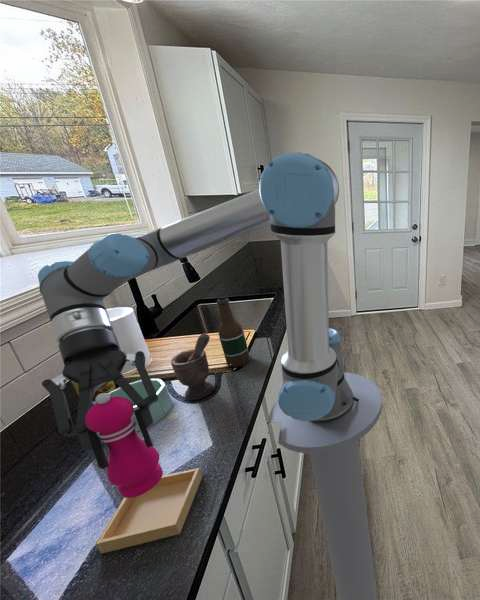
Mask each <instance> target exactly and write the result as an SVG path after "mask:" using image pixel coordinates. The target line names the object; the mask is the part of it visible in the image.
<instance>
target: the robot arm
mask: <svg viewBox="0 0 480 600" xmlns="http://www.w3.org/2000/svg"><path fill="white" fill-rule="evenodd" d="M339 183H340V182H339V180H338V177H337V175H336V174H335V172H334V170H333V169H332V167H330V165H328V164H327V163H326V162H324V161H323V160H321V159H319V158H317V157H315V156H313V155H311V154H309V153H302V152H300V151H299V152H288V153H282V154H280V155H278V156H276V157H274V158H273V159H271V161H269V162H268V163H267V164H266V166H265V168H264V169H263V171H262V173H261V175H260V179H259V185H258V186H259V188H258V189H255V190H252V191H250V192H248V193H244V194H243V195H240V196H238V197H234V198H233V199H229V200H227V201H225V202H223V203H220V204H217V205H215V206H212V207H209V208H207V209H204V210H202V211H200V212H197V213H195V214H192V215H189V216H187V217H184V218H182V219H179V220H177V221H174V222H172V223H169V224H167V225H165V226H161V227H159V228H156V229H154V230H151V231H148V232H146V233H143V234H140V235H136V236H130V235H128V234H122V233H119V232H113V233H112V232H111V233H109V234H106V235H105V236H103V237H102V238H101V239H99V240H96V241H95V242H94V243H93V244H92V245H91V246H90V247H89V248H88V249H87V250H86V251H84V252H83V253H82V254H81V255H80V256H79V257H77V258H76V259H75V260H59V261H54V263H53V264H46V265H44V266H43V267H42V268H40V270H39V271H38V273H37V279H38V283H39V285H38V286H39V288H38V289H39V294H40V295H41V296H42V300H43V303H44V306H45V308H46V312H47V314H48V317H49V320H50V323H51V325H52V326H51V327H52V330H53V334H54V337H55V340H56V342H57V344H58V350H59V353H60V355H61V358H62V362H63V368H62V373H61V374H60V375H58V376H55V377H54V378H52V379H49V378H47V379H44V380H42V382H41V386H42V387H43V389H45V390H46V391H47V392H48V393H49V397H50V400H51V404H52V410H53V413H54V418H55V422H56V425H57V429H58V433H59V434H60V435H62V436H64V437H67V438H69V437H72V436H78V439H79V442H80V445H81V448H82V450H83V451H84V452H85V453H88V454H89V453H91V452H93V454H94V457H95V461H96V464H97V466H98V467H97V468H98V469H102V470H105V469H107V467H109V465H108V459H107V456H106V454H105V450H104V447H103V444H102V443H103V442H100V441H99V437H97V432H94V431H91V430H90V429H89V428H88V427H87V425H86V422H85V417H86V414H87V412H88V410H89V409H90V408H91V407H92V400H93V393H94V387H96V386H99V385H100V384H102V383H105V382H111V381H113V382H115V384H117V385H118V386H119V387H121V388H122V390H123V391H124V392H125V393H126V394H127V395H128V396H129V398H130V399H131V400H132V401H133V402H134V403H135V404H136V405H137V407H138V408H139V409H137V410H135V411H134V413H135V416H136V419H137V422H138V424H139V427H140V430H139V431H140V433H141V435H142V439H143V440H144V441H145V444H146V446H147V447H148V448H149V447H151V446H154V442H153V440H152V437H151V434H150V432H149V429H148V428H149V427H151V426H153V425H154V424H153V422H154V421H153V418H152V416H151V413H150V410H149V407H150V405H152V404H153V403H154V402H157V401H158V396H157V393H156V391H155V389H154V386H153V384H152V382H151V380H150V379H151V377H150V374H149V373H148V371H147V368H146V367H145V355H144V353H143V352H142V351H138V352H137V353H136V354H125V353H124V352H123V351H121V349H120V346H119V343H118V341H117V338H116V335H115V333H114V332H113V327H112V324H111V321H110V319H109V316H108V313H107V311H106V309H107V308H106V306H105V303H104V299H105V298H106V297H108V296H109V295H111V294H112V293H113V292H114V291H116V290H117V289H118V288H119V287H121V286H122V285H123V284H125V283H126V282H128V281H130V280H132V279H134V278H135V279H136V278H137V277H139V276H143V275H145V274H147V273H150V272H151V271H154V270H157V269H159V268H161V267H164V266H167V265H170V264H173V263H175V262H177V261H179V260H182V259H184V258H187V257H189V256H192V255H194V254H197V253H199V252H200V253H201V252H202V251H205V250H207V249H210V248H212V247H213V248H214V247H216V246H218V245H221V244H222V243H225V242H228V241H230V240H231V241H232V240H233V239H235V238H238V237H242V236H244V235H246V234H249V233H252V232H254V231H257V230H259V229H262V228H265V227H268V226H270V232H271V234H272V235H273V236H274V237H276V239H278V240H279V243H280V250H281V251H280V253H281V267H282V280H283V296H284V310H285V324H286V340H287V351H286V352H285V353H284V354H283V355H282V357H281V372H282V373H281V374H282V375H281V376H282V385H281V387H280V389H279V391H278V397H277V400H278V404H279V407H280V408H281V410H282V411H283V412H284V413H285V414H286V415H289V416H291V418H293V419H296V420H300V421H310V422H315V423H325V422H330V421H334V420H336V419H338V418H340V417H342V416H344V415H345V414H346V413H348V412H349V410H350V409H351V408H352V406H353V403H354V401H357V402H359V399H358V398H355V397H354V396H353V392H352V389H351V388H350V386H349V384H348V382H347V380H346V379H345V376H344V372H345V369H344V362H343V354H342V347H341V338H340V334H339V332H338V331H337V330H336V329H334V328H330V324H329V323H330V317H329V316H330V315H329V314H330V313H329V309H330V308H329V261H328V259H329V255H328V253H329V252H328V242H329V240H330V239H331V238H332V237H333V236H335V234H336V204H337V202H338V199H339V196H340V184H339ZM126 361H130V363H131V365H133V366H136V368H137V371H138V372H137V373H138V375H139V377H140V380H142V383H143V385H144V387H145V390H146V392H147V394H148V397H147V398H145V399H143V398H142V397H141V396H140V395H139V394H138V393H137V391H136V390H135V389H134V388H133V387H132V386H131V385H130V383H131V382H129V381H128V380H127V379H126V377H123V375H122V374H121V371H122V369H123V367H124V365H125V363H126ZM67 381H70V382H71V381H73V382H75V383H78V384H79V396H78V403H77V412H76V423H75V425H74V424H73V421H72V416H71V413H70V408H69V405H68V400H67V396H66V394H65V392H64V391H63V390H64V389H65V388H66V386H67V385H66V382H67ZM136 405H135V406H136ZM148 426H149V427H148Z"/></svg>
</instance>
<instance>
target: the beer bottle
mask: <svg viewBox="0 0 480 600" xmlns="http://www.w3.org/2000/svg"><path fill="white" fill-rule="evenodd" d="M216 305H218V311H219V316H220V321H221V322H220V325H219V329H218V338H219V341H220V345H221V349H222V352H223V355H224V358H225V362H226V365H227V366H228V367H231V368H238V367H241V366H244V365H246V364H247V363H249V362H250V360H251V359H250V351H249V348H248V343H247V339H246V335H245V332H244V328H243V325H242V324H241V323H240V322H239V321H238V320H237V319H236V318H235V316H234V313H233V311H232V308H231V306H230V299H229V298H228V297H221V298H218V299H216ZM230 364H231V365H230Z"/></svg>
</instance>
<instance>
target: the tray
mask: <svg viewBox="0 0 480 600" xmlns="http://www.w3.org/2000/svg"><path fill="white" fill-rule="evenodd" d="M202 479H203V474H202V472H201V469H200V467H197V468H192V469H188V470H182V471H178V472H174V473H173V472H172V473H169V474H165V475H162V477H161V479H160V481H159V482H158V483H157V484H156V485H155V486H154V487H153V488H152V489H150V490H149V491H148V492H146V493H144V494H142V495H140V496H137V497H133V498H125V497H123V499H122V501H121V502H120V504H119V505H118V507H117V508H116V510H115V511H114V514H113V515H112V517H111V518H110V519H109V522H108V523H107V524H106V526H105V528H104V530H103V531H102V532H101V534H100V536H99V538H98V540H97V542H96V543H95V546H96V547H97V549H98V551H99V552H100V554H102V555H103V554H106V553H111V552H115V551H118V550H123V549H126V548H130V547H133V546H134V547H135V546H138V545H142V544H146V543H150V542H155V541H158V540H162V539H166V538H169V537H173V536H178V535H180V534H181V532H182V531H183V527H184V525H185V522H186V519H187V517H188V514H189V512H190V510H191V506H192V504H193V502H194V499H195V496H196V494H197V491H198V489H199V488H200V484H201V482H202Z"/></svg>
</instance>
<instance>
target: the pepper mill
mask: <svg viewBox="0 0 480 600" xmlns="http://www.w3.org/2000/svg"><path fill="white" fill-rule="evenodd" d="M95 400H96V402H97V403H96V404H95V405H93V406H92V407H91V408H90V409H89V410H88V412H87V414H86V417H85V422H86V425H87V427H88V428H89V429H90V430H91V431H94V432H97V437H99V441H100V442H101V443H104V444H105V445H106V447H107V449H108V456H109V457H108V459H107V462H108V465H109V467H106V476H107V479H108V481H109V482H110V483H111V484H112V485H113V486H117V490H118V491H119V493H120V496H122V498H124V497H125V498H133V497H137V496H140V495H142V494H144V493H146V492H148V491H149V490H150V489H152V488H153V487H154V486H155V485H156V484H157V483H158V482H159V481H160V479H161V477H162V476H164V475H163V474H164V471H163V469H162V466H161V464H160V462H159V461H160V453H159V451H158V450H157V448H156V447H155V446H154V445H153V446H151V447H149V448H148V447H147V446H146V444H145V441H144V438H141V437H140V436H139V435H138V433H137V431H135V427H136V425H137V423H136V421H135V418H134V417H133V416H132V415H133V413H134V407H133V404H132V403H131V402H130V401H129V400H128V399H126V398H124V397H110V395H109V394H108V393H101V394H99V395H98V396H97V397H96V399H95Z"/></svg>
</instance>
